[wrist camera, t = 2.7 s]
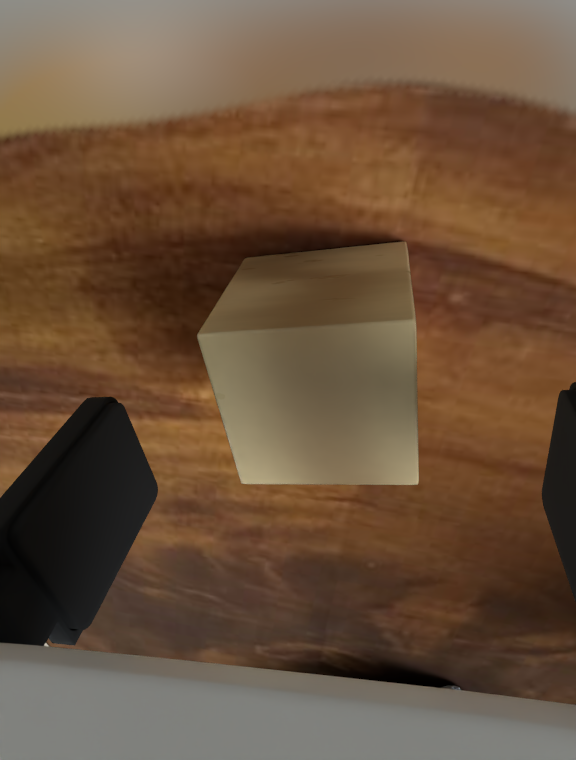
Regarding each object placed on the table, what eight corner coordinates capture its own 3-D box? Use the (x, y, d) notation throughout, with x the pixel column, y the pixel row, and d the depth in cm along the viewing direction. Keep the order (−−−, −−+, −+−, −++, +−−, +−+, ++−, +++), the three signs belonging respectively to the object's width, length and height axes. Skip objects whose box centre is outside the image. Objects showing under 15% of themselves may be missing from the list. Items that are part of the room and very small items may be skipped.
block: (272, 385, 16) (240, 484, 13) (244, 256, 14) (194, 334, 10) (410, 379, 15) (418, 486, 12) (406, 240, 13) (416, 320, 9)
